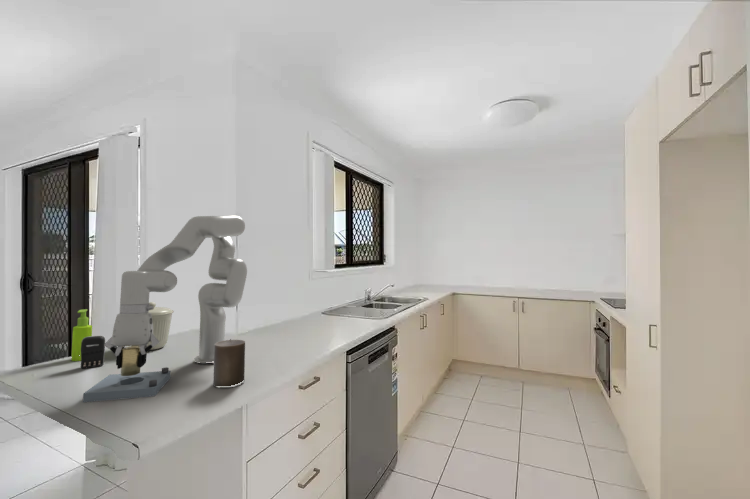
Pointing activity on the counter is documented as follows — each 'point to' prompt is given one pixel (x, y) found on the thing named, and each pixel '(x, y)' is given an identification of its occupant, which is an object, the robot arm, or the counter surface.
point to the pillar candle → (229, 362)
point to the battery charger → (92, 351)
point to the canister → (160, 324)
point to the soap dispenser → (80, 334)
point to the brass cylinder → (130, 361)
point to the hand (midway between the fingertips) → (131, 366)
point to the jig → (128, 386)
